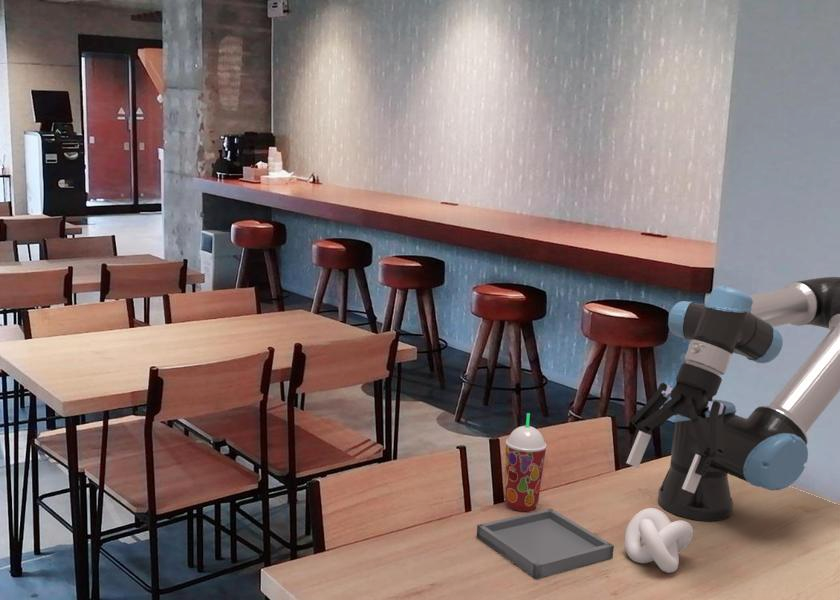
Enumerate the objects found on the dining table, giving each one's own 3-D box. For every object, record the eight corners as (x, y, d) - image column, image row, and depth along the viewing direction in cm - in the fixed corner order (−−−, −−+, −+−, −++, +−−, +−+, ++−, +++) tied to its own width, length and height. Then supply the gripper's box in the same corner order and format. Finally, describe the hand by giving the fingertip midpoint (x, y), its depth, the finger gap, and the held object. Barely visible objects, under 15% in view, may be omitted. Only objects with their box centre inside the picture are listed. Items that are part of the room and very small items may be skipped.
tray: (549, 520, 181) (550, 508, 181) (612, 558, 166) (613, 545, 166) (476, 537, 172) (477, 525, 172) (536, 579, 157) (537, 566, 157)
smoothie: (538, 498, 192) (545, 408, 188) (544, 515, 184) (552, 421, 180) (498, 497, 192) (505, 406, 188) (503, 513, 183) (510, 419, 180)
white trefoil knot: (669, 545, 173) (674, 501, 172) (705, 575, 162) (710, 528, 160) (616, 549, 170) (620, 505, 168) (648, 580, 159) (654, 533, 157)
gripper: (640, 347, 173) (598, 450, 172) (747, 380, 152) (700, 497, 151) (664, 359, 177) (623, 460, 176) (772, 393, 156) (726, 507, 155)
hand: (659, 478), depth 163 cm, fingers open, 13 cm apart
